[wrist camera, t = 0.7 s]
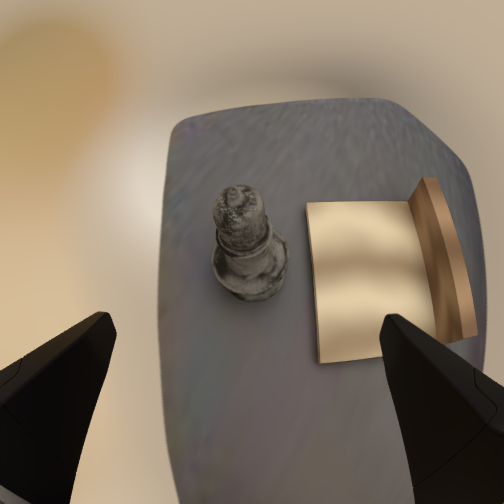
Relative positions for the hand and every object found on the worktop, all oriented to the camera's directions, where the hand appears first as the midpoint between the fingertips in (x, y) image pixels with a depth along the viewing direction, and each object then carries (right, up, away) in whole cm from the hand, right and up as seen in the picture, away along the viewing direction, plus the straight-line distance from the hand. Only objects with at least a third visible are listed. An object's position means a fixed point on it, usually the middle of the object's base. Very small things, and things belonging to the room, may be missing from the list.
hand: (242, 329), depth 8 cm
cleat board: (+11, 0, +15) cm, 19 cm away
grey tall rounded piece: (0, +1, +16) cm, 16 cm away
